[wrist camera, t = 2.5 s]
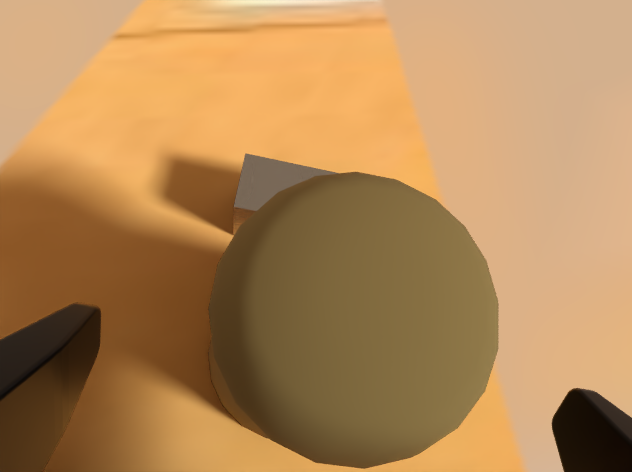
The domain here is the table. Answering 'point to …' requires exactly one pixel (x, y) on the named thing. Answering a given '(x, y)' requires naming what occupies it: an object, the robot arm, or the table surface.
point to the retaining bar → (266, 183)
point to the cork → (352, 321)
